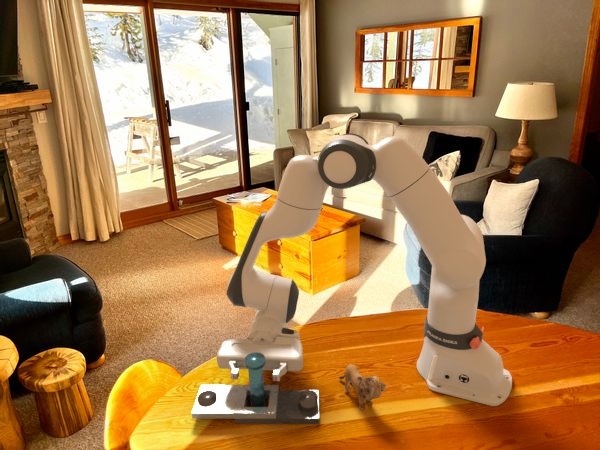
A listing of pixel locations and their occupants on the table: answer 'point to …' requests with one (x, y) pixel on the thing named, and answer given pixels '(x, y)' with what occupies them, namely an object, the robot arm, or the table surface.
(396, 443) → the table surface
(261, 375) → the pin
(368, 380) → the lion figurine
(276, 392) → the latch plate
